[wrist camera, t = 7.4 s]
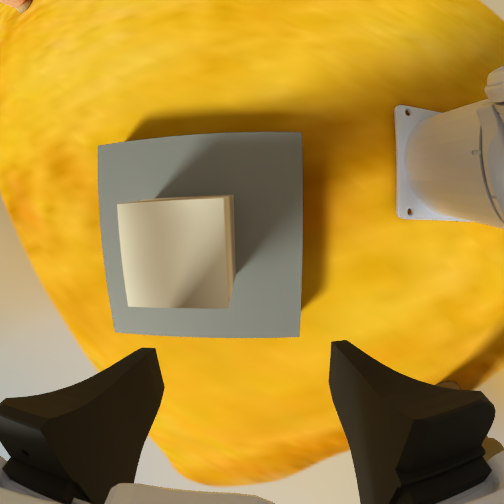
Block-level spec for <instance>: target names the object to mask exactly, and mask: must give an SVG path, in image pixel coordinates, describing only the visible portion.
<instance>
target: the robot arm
mask: <svg viewBox="0 0 504 504" xmlns="http://www.w3.org/2000/svg"><path fill="white" fill-rule="evenodd" d="M484 92H485V94H486V95H487V97H488V99H485V100H481V101H478V102H475V103H472V104H469V105H465V106H462V107H459V108H456V109H453V110H450V111H447V112H444V113H441V112H436V111H432V110H427V109H422V108H416V107H411V106H405V105H398V106H396V107H395V108H394V120H395V136H396V167H397V195H396V214H397V216H398V217H399V218H402V219H420V220H446V221H468V222H477V223H482V224H486V225H490V226H494V227H498V228H502V229H504V65H503V66H501V67H499V68H498V69H496V70H494V71H492V72H491V73H489V74H488V78H487V85H486V86H485V88H484ZM405 110H407V111H408V112H409V116H407V115H406V113H405ZM409 208H410V209H411V214H410V215H408V213H407V211H408V209H409ZM329 386H330V390H331V395H332V399H333V403H334V405H335V408H336V411H337V414H338V416H339V419H340V421H341V424H342V427H343V429H344V432H345V435H346V437H347V440H348V443H349V446H350V450H351V454H352V459H353V463H354V468H355V473H356V477H357V484H358V490H359V496H360V502H361V504H504V450H503V451H501V452H500V453H498V454H496V455H494V456H493V457H492V458H490V459H489V460H488V461H487V462H486V461H485V459H484V458H483V456H484V455H485V453H486V451H485V449H484V448H483V446H482V443H483V441H484V439H485V437H486V435H487V434H488V432H489V430H490V428H491V426H492V423H493V420H494V417H495V408H494V405H493V404H492V403H491V402H490V401H489V400H488V398H487V397H486V396H485V395H484V394H483V393H482V392H481V391H470V390H457V389H451V388H445V387H440V386H435V385H431V384H428V383H425V382H421V381H418V380H415V379H413V378H410V377H408V376H405V375H403V374H401V373H398V372H396V371H394V370H392V369H391V368H389V367H387V366H385V365H383V364H382V363H380V362H378V361H377V360H375V359H373V358H372V357H370V356H369V355H367V354H366V353H364V352H363V351H361V350H360V349H359V348H357V347H356V346H354V345H353V344H351V343H350V342H348V341H347V340H343V341H333V342H331V358H330V372H329ZM163 391H164V383H163V379H162V375H161V371H160V367H159V362H158V358H157V354H156V349H155V348H141V349H138V350H137V351H135V352H133V353H131V354H130V355H128V356H127V357H125V358H123V359H122V360H120V361H119V362H117V363H115V364H114V365H112V366H110V367H109V368H107V369H105V370H103V371H102V372H100V373H98V374H96V375H94V376H93V377H90V378H89V379H86V380H84V381H82V382H79V383H77V384H75V385H72V386H69V387H66V388H63V389H60V390H57V391H53V392H50V393H45V394H41V395H34V396H28V397H17V398H6V399H5V400H3V401H2V402H1V403H0V442H1V443H2V445H3V446H4V448H5V449H6V451H7V452H8V454H9V455H10V456H11V458H10V459H9V460H8V462H7V461H6V460H5V459H4V458H3V457H1V456H0V504H275V503H273V502H271V501H268V500H266V499H263V498H260V497H258V496H255V495H246V494H238V493H218V492H201V491H189V490H179V489H170V488H163V487H156V486H149V485H143V484H134V479H135V474H136V470H137V466H138V462H139V458H140V454H141V451H142V448H143V445H144V442H145V440H146V438H147V435H148V433H149V431H150V428H151V426H152V424H153V421H154V419H155V417H156V414H157V412H158V409H159V407H160V404H161V400H162V396H163Z"/></svg>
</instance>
